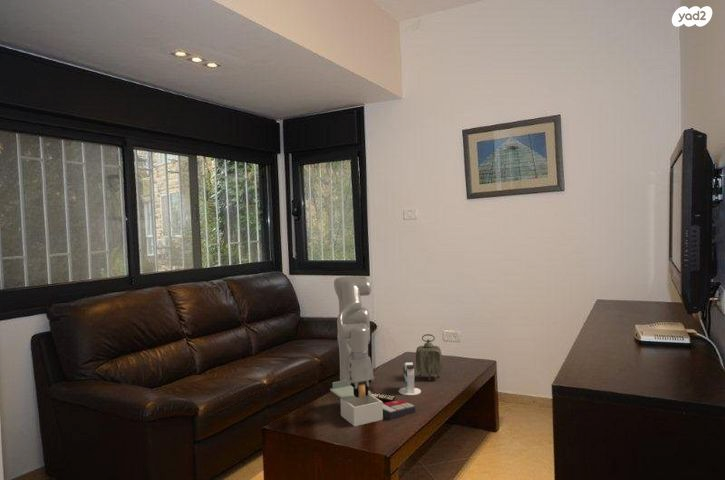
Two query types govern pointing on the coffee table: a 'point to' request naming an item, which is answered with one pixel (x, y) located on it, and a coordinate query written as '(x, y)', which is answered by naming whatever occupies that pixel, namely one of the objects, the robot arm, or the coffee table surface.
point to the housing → (362, 410)
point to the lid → (343, 389)
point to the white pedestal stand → (409, 379)
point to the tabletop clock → (428, 359)
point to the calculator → (397, 409)
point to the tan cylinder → (361, 389)
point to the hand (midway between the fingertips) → (361, 395)
